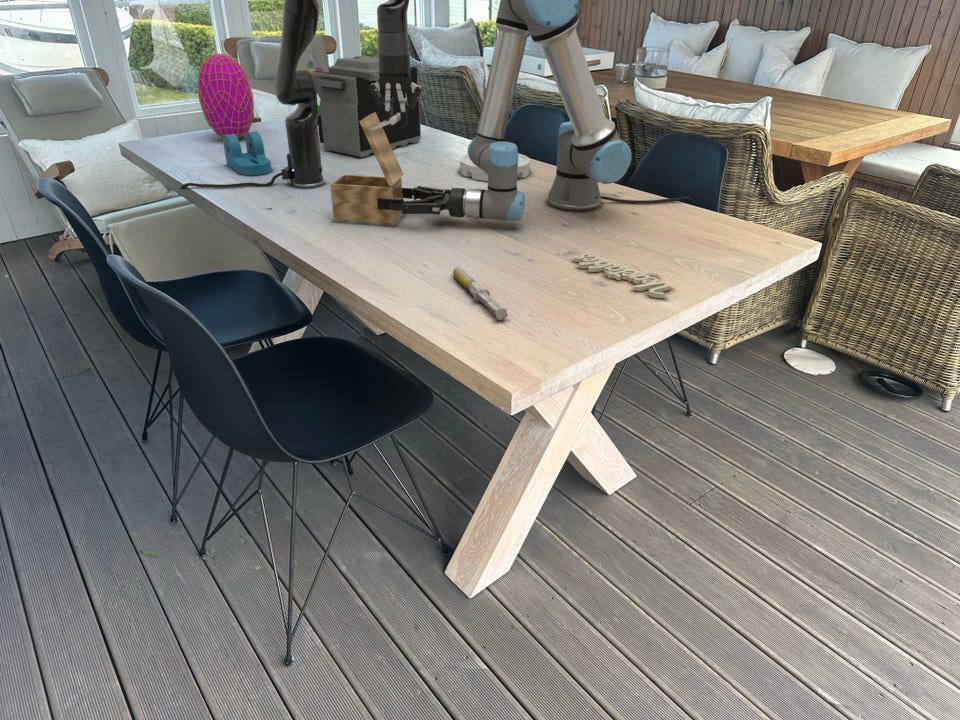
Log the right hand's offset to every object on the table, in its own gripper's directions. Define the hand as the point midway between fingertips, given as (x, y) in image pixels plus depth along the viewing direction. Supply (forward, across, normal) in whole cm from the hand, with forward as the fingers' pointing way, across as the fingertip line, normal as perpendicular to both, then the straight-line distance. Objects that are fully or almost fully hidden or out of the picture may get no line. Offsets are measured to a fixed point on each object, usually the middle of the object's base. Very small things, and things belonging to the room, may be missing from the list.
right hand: (383, 197), depth 184 cm
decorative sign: (-64, -26, -6) cm, 69 cm away
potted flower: (+64, +113, -6) cm, 130 cm away
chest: (+5, 0, -6) cm, 8 cm away
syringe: (-34, -44, -6) cm, 55 cm away
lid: (0, 0, +13) cm, 13 cm away
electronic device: (+29, +79, -6) cm, 84 cm away
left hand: (-5, 0, +19) cm, 19 cm away
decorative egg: (+85, +78, -6) cm, 115 cm away
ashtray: (-22, +53, -6) cm, 58 cm away
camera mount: (+58, +40, -6) cm, 71 cm away
